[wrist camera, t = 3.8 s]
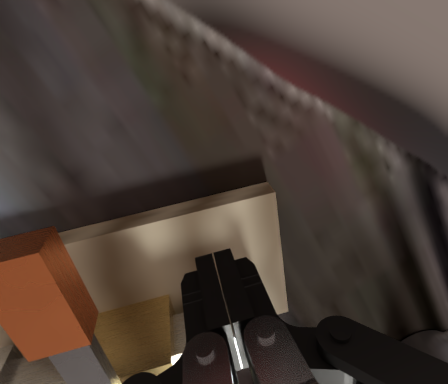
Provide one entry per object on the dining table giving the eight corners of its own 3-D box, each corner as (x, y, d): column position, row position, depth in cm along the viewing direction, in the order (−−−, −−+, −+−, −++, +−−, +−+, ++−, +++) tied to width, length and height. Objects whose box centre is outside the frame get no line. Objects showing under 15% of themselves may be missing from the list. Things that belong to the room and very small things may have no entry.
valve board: (267, 181, 25) (275, 192, 23) (280, 296, 31) (288, 311, 29) (-71, 264, 22) (-91, 283, 20) (15, 371, 28) (5, 392, 26)
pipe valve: (255, 270, 26) (291, 355, 19) (262, 318, 29) (297, 408, 22) (0, 340, 24) (-67, 463, 17) (35, 384, 27) (-11, 506, 20)
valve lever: (163, 436, 20) (163, 470, 18) (123, 448, 20) (120, 484, 18) (54, 225, 12) (38, 252, 11) (-13, 242, 12) (-39, 272, 10)
